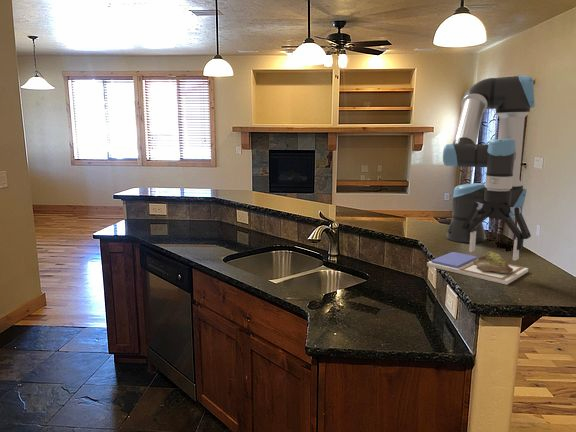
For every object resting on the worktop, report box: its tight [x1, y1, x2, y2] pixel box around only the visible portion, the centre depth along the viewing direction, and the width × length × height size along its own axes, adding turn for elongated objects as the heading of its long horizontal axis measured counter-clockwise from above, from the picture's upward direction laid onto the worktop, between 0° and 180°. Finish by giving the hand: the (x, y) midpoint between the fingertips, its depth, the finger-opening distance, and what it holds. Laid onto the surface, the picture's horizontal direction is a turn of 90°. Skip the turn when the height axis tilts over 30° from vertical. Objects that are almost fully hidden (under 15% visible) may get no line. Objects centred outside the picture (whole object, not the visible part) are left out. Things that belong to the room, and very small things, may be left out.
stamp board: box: [426, 251, 529, 286], centre depth 143 cm, size 17×26×2 cm, turn 43°
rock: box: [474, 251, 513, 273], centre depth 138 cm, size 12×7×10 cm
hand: (492, 255), depth 138 cm, fingers open, 13 cm apart
